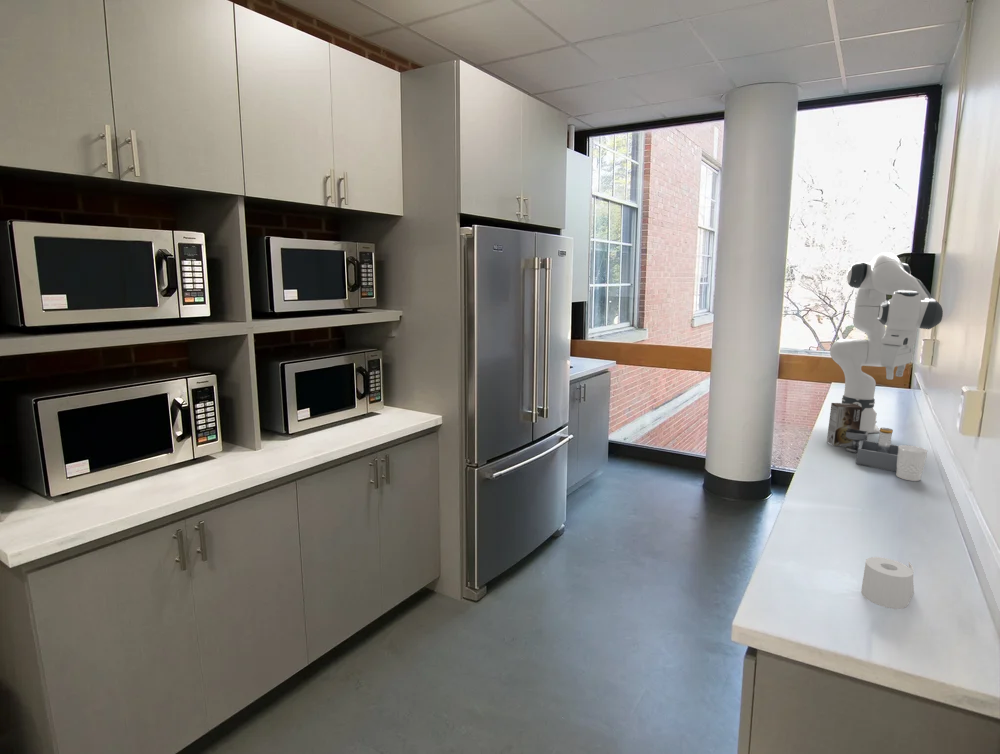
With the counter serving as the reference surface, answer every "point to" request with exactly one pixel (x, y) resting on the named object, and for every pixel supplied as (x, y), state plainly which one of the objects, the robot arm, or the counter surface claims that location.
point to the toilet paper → (888, 582)
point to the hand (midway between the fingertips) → (894, 377)
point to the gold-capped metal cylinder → (884, 440)
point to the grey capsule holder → (855, 439)
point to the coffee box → (843, 422)
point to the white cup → (910, 462)
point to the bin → (877, 456)
